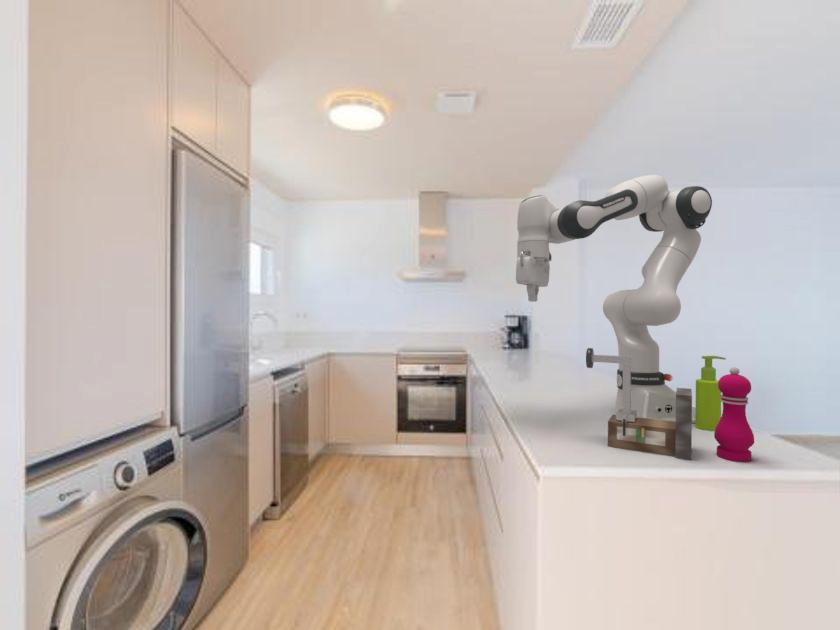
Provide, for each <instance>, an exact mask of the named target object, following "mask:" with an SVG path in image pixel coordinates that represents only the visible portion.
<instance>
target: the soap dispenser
mask: <svg viewBox="0 0 840 630" xmlns="http://www.w3.org/2000/svg"><path fill="white" fill-rule="evenodd" d="M701 359H704V366H703V367H701V368H700V369H701V371H700V378H699V379H698V378H697V379H696V380H695V417H696V418H695V423H694V424H695V428H697V429H699V430H703V431H709V432H715V429H716V426H717V424H718V423H719V421H720V419H721V417H722V402H721V395H722V392H721V391H720V390H719V388H718V382H719V380H717V375H716V374H717V369H716V368H715V367H713V360H715V359H716V360H723V361H724V360H726V359H727V358H725V357H723V356H719V355H702V356H701Z"/></svg>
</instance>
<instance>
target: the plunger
mask: <svg viewBox="0 0 840 630" xmlns="http://www.w3.org/2000/svg"><path fill="white" fill-rule="evenodd" d="M585 354H586V355H585V363H586V368H588V369H593V368H594V363H607V364H608V363H609V364H619V363H622V364H623V405H622V409H619V410H618V411H617V413H616V420H620V421H622V423H623V436H625V435H626V422H627V421H628V422H635V420H636V418H637V410H631V356H619V355H609V354H608V355H607V354H606V355H605V354H595V352H594V348H593V347H588V348H587V349H586V353H585Z"/></svg>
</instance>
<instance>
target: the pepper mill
mask: <svg viewBox="0 0 840 630" xmlns="http://www.w3.org/2000/svg"><path fill="white" fill-rule="evenodd" d="M718 381H719V382H718V388H719V390H720V391H721V403H722V412H721V419H720V421H719V423H718V424H717V426H716V429H715V431H714V439H715V440H716V442H717V444H719V445H717V446H716V455H717V456H718V457H720V458H722V459H724V460H728V461H733V462H740V463H742V462H744V463H745V462H751V460H752V451H751V450H750V448H751V447H753V446H754V444H755V435H754V432H753V429H752V428H751V426H750V424H749V422H748V419H747V416H746V415H747V414H746V412H747V411H746V409H747V405H748V404H749V397H747V396H748V395H749V394H750V392H751V391H752V384H751V382H750V380H749V379H748V378H747V377H746V376H743V375H741V374H740V369H739V368H738V367H736V366H733V367H731V368H730V369H729V373H728V374H724V375H722V376H721V377H720V378H719V380H718Z"/></svg>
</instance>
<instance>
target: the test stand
mask: <svg viewBox="0 0 840 630" xmlns="http://www.w3.org/2000/svg"><path fill="white" fill-rule="evenodd" d="M675 392H676V422H674V421H665V420H656V419H648V418H639V417H637V418H636V420H635V422H628V421H627V422H626V435H625V436H623V423H622V421H620V420H616V415H613V414H612V415H611V416H610V417H609V419H608V420H607V447H611V448H617V449H625V450H630V451H631V450H632V451H637V452H643V453H651V454H655V455H656V454H657V455H663V456H671V457H675V459H681V460H687V461H692V444H693V443H692V439H693V437H692V436H693V435H692V433H693V430H692V429H693V428H692V427H693V423H692V416H693V393H692V388H685V387H676V390H675ZM641 428H645V433H644V437H641Z"/></svg>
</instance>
